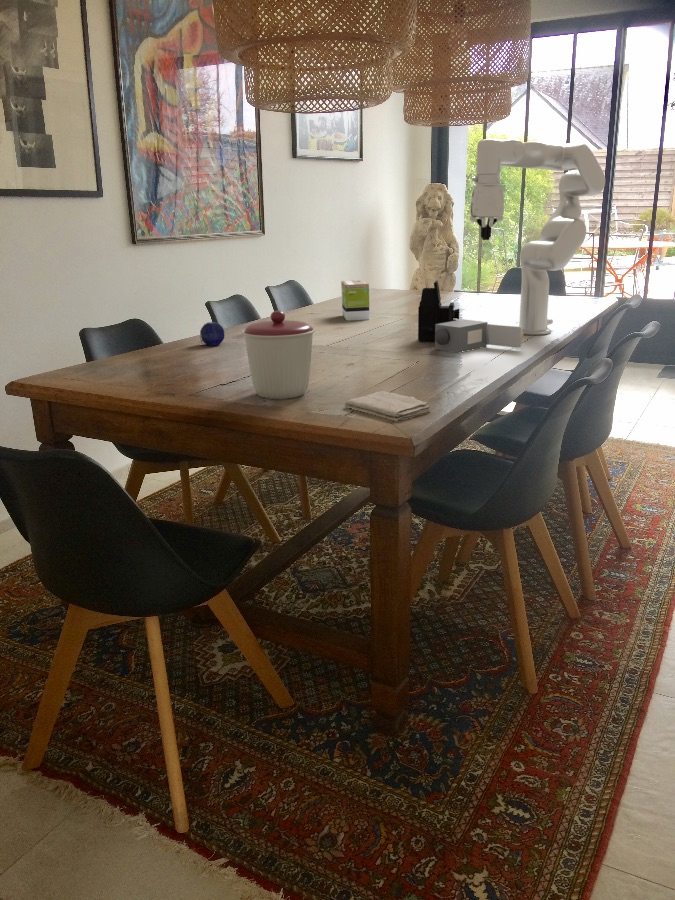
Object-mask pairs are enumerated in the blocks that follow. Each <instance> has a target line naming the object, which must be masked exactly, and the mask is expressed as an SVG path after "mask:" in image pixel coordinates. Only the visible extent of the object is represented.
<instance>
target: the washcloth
mask: <svg viewBox="0 0 675 900" xmlns="http://www.w3.org/2000/svg"><path fill="white" fill-rule="evenodd" d="M427 404H428V402H427V401H423V400H419V399H417V398H416V397H415V396H407V395H402V394H399V393H394V392H388V391H385V390H381V391H375V392H371V393H370V394H368V395H365V396H360V397H354V398H351V399H349V400H346V401H345V402H344V407H345V408H346V407H348V408H347V409H349V408H353V409H356V410H359V411H358V412H360V411H362V412H361V413H363V412H365V414H367V413H368V414H369V415H371V414H372V415H371V416H375V415H376V416H375V417H379V416H380V418H383V419H386V418H387V420H389V421H393V420H394V422H398V421H403V420H404V419H405V420H409V419H412V418H414V417H418V415H419V416H422V415H426V414H428V413H430V412H431V410H432V409H431V406H430V405H429V404H428V405H427ZM356 410H355V411H356ZM368 414H367V415H368ZM408 418H409V419H408Z"/></svg>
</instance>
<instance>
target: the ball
mask: <svg viewBox="0 0 675 900" xmlns="http://www.w3.org/2000/svg"><path fill="white" fill-rule="evenodd" d="M199 332H200V333H199V334H200V335H199V343H200V345H203V346H205V345H207V346H209V345H210V346H209V347H214V345H217V346H219V345H221V343H222V342H224V340H225V329H224V328H223V326H222V325H221V324H220V323H218V322H215V321H211V322H206V323H204V324H203V326H202V327H200V330H199ZM202 342H203V343H202ZM200 345H199V346H200Z"/></svg>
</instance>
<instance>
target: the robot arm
mask: <svg viewBox="0 0 675 900" xmlns="http://www.w3.org/2000/svg"><path fill="white" fill-rule="evenodd" d="M501 167H510V168H522V169H534V170H535V169H536V170H545V171H546V170H547V171H555V172H556V171H558V172H560V171H561V172H565V171H567V172H565V173H563V175H561V176H560V179H559V182H558V192H559V201H558V202H559V204H558V205H557V207H556V208H555V211H554V212H553V213H552V215H550V217H549V218H548V220H547V221H546V222H545V224H544V225H543V227H542V229H541V230H540V234H539V236H540V240H531V241H529V242H527V243H525V244H524V245H523V246H522V248H521V250H520V251H519V252H520V253H519V261H520V263H519V264H520V268H521V289H520V306H519V321H518V322H519V323H518V325H519V326H518V327H522V332H524V333H523V335H532V336H538V335H539V336H540V335H541V336H542V335H547V334H550V333H551V332H552V329H551V328H549V327H548V325H553V323H554V320H553V319H552V318H549V319H548V309H549V308H548V307H549V295H550V277H549V274H548V272H547V271H552V272H553V271H554V272H555V271H560V270H562V269H564V268H565V267H566V266H567V265H568V263H570V261H571V260H572V259H573V257H574V256H575V254H576V253H577V251H578V250H579V249H580V248H581V246H582V245H583V243H584V241H585V238H586V235H587V226H586V224H585V222H584V221H583V220H582V219H581V218H580V217H581V214H582V206H581V203H580V198H579V197H584V196H585V197H587V196H589V197H590V196H597V195H599V194H601V193H602V192H603V190H604V189H605V186H606V176H605V173H604V170H603V169H602V167H601V165H600V162H598V160H597V157H596V156H595V154H594V153H593V151H592V150H591V148H590V147H589V146H588V145H587V144H585V143H584V142H574V143H573V142H572V143H556V142H548V141H541V140H540V141H539V140H538V141H537V140H535V141H533V140H532V141H524V142H523V141H522V140H520V139H518V138H504V139H498V138H486V139H485V138H484V139H480V140H479V141H478V142H477V147H476V171H475V176H472V177H471V182H474V183H475V185H473V188H472V194H471V200H470V211H469V213H470V217H469V218H470V219H469V221H470V222H474V223H477V225H479V227H480V238H481V240H482V241H490V238H491V237H492V228H493V226H494V225H495V224H496V223H497V222H501V221H503V220H504V217H503V216H504V212H505V201H504V199H505V197H504V188H503V184H501V180H500V179H501ZM486 218H487V221H486Z"/></svg>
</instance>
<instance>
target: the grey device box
mask: <svg viewBox="0 0 675 900" xmlns="http://www.w3.org/2000/svg"><path fill="white" fill-rule="evenodd" d="M455 320H456V321H451V322H445V323H440V324H435V342H434V349H435V350H438V349H441V350H440V351H444V350H447V351H446V352H450V351H454V352H453V353H456V352H461V353H463V352H462V351H465V352H468V351H467V350H470V351H473V350H472V349H474V350H477V349H476V348H479V349H481V348H480V347H483V348H486V347H485V346H487V347H488V345H487V344H486V341H487V324H489V323H488V321H480V320H474V319H473V320H472V319H465V318H462V319H455Z"/></svg>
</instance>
